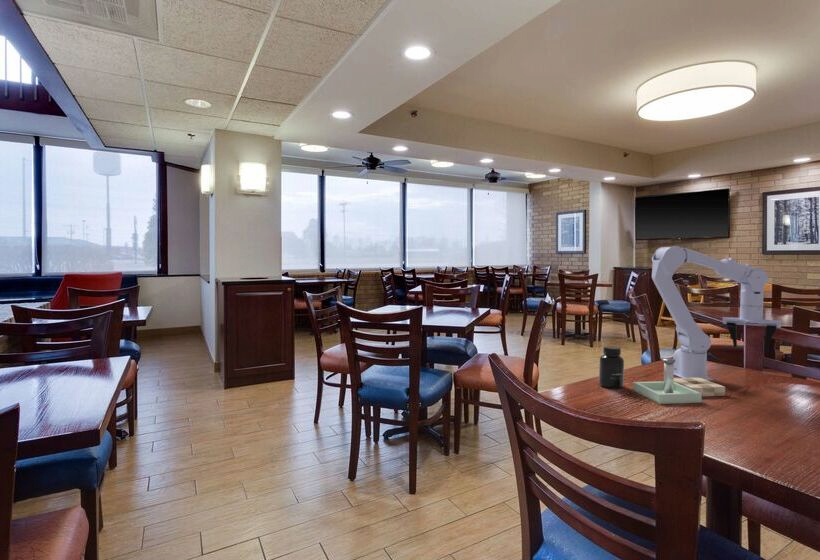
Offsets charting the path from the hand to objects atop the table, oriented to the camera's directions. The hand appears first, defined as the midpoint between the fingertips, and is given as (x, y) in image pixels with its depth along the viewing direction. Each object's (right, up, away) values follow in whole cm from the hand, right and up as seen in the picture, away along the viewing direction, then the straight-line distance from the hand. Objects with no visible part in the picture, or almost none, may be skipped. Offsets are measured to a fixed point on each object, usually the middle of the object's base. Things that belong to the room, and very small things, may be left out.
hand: (750, 347), depth 138 cm
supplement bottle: (-47, -11, -5) cm, 48 cm away
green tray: (-36, -11, -15) cm, 41 cm away
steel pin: (-34, -11, -14) cm, 38 cm away
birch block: (-24, -11, -10) cm, 29 cm away
